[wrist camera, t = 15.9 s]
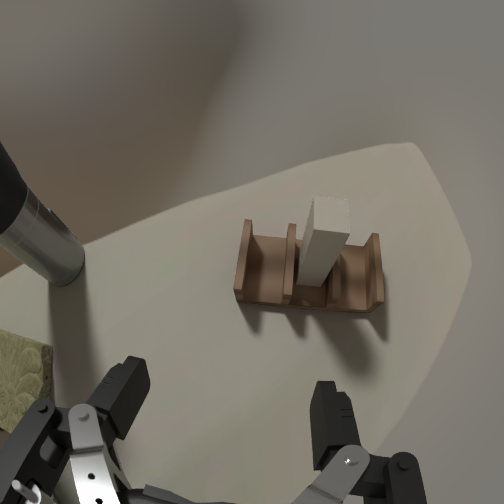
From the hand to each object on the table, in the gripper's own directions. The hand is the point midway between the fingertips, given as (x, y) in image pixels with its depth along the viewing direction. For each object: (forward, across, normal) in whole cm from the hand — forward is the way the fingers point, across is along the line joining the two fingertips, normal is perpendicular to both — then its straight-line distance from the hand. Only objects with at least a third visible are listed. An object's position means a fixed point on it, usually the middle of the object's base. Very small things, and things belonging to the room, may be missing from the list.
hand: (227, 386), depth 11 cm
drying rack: (+28, -7, +5) cm, 29 cm away
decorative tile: (+8, +40, +26) cm, 48 cm away
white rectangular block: (+27, -7, +5) cm, 28 cm away
